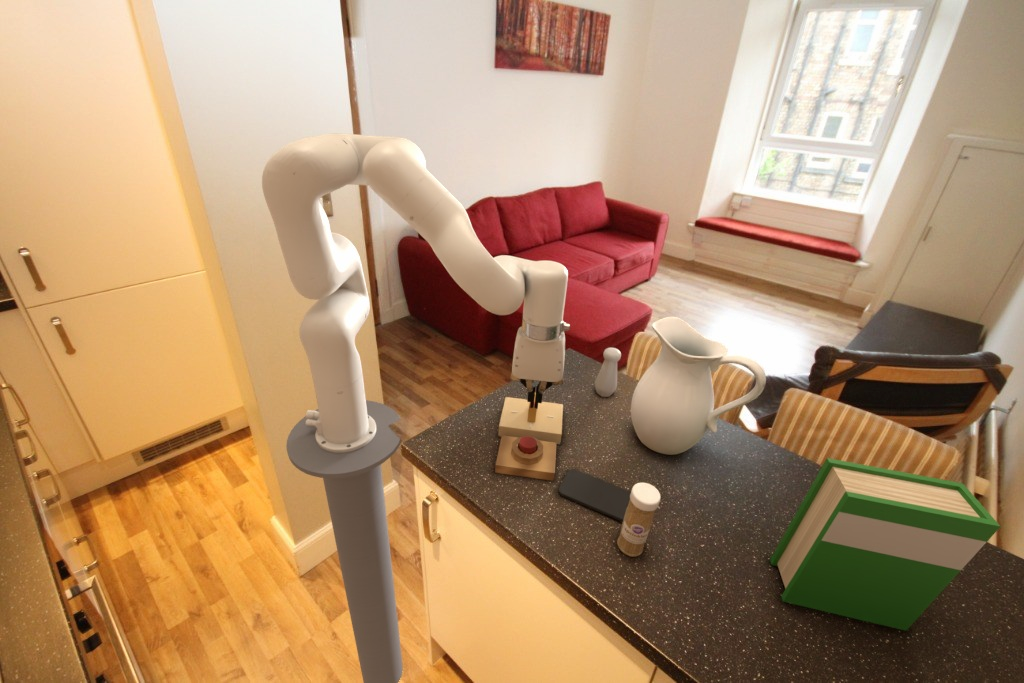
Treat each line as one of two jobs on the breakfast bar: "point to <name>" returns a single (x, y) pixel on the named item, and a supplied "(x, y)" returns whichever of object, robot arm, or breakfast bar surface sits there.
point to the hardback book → (878, 542)
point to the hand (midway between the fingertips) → (534, 404)
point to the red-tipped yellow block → (532, 412)
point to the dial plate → (541, 429)
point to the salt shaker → (608, 373)
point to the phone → (595, 494)
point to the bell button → (527, 445)
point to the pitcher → (684, 388)
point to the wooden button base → (526, 459)
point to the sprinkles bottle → (638, 518)
